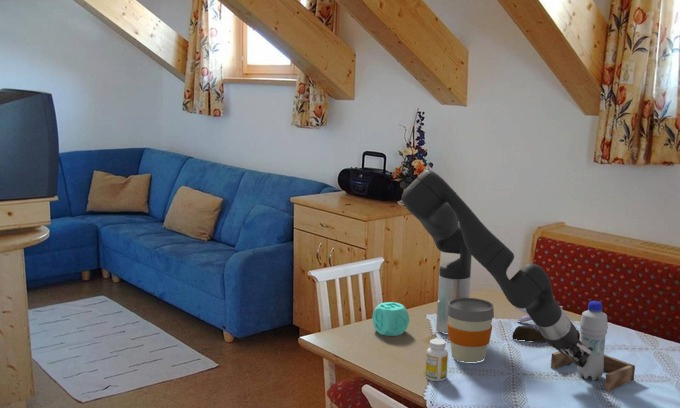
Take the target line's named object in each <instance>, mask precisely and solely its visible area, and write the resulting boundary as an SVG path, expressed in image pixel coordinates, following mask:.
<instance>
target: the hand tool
mask: <svg viewBox="0 0 680 408" xmlns="http://www.w3.org/2000/svg"><path fill="white" fill-rule="evenodd" d="M576 330H577V338H578V339H579V340H580V337H581V332H580V330H578V329H576ZM512 338H513V339H517V340H525V341H533V342H546V339H545V338H544V337H543V335H542V334H541V333H540V331H539V330H538V328H536V327H534V326H530V325H529V326H527V325H518V326H516V327H515V328H514V331H512ZM513 339H512V340H513Z"/></svg>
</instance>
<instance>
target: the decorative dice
mask: <svg viewBox="0 0 680 408" xmlns="http://www.w3.org/2000/svg"><path fill="white" fill-rule="evenodd" d="M371 320H372V324H373V327H374V329H375V330H376V332H377V333H378V334H379V335H382V336H388V337H396V336H400V335H402V334H403V333H405V332H406V330H407V329H408V327H409V323H410V315H409V312H408V310H407V308H406V307H405V305H404V304H401V303H400V302H393V301H389V302H388V301H386V302H382V303H379V304H378V305H377V306H376V307H375V308H374V311H373V312H372V319H371Z"/></svg>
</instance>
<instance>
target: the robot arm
mask: <svg viewBox="0 0 680 408" xmlns="http://www.w3.org/2000/svg"><path fill="white" fill-rule="evenodd" d="M401 201H402V205H404V207H405V208H406V210H407V211H408V212H410V214H411V215H413V216H414V217H415V218H416V219H417V220H418V221H419V223H420V224H421V225H422V226H423V228H424V230H425V231H426V232H427V233H428V234H429V235H430V236H431V238H432V240H433V241H434V242H433V243H434V244H435V247H436V248H437V249H438V251H440V252H441V253H446V254H454V255H455V254H457V255H459V258H457V259H455V260H453V261H448V262H444V263H442V264H441V265H439V271H438V275H439V276H438V296H437V298H438V300H437V302H436V326H435V328H436V329H435V331H441V332H444V333H448V325H447V322H448V321H449V319H448V314H447V308H448V302H449V301H450V300H452V299H457V298H471V296H470V292H471V273H472V272H471V270H472V257H473V258H474V259H475V260H476V261H477V262H478V263H479V264H480V265H481V266H482V267H483V268H485V270H487V272H488V273H489V274H490V275H491V276H492V277H493V279H494V280H495V281H496V283H497V284H498V285H499V287H500V289H501V291H502V293H503V294H504V296H505V298H506V300H507V301H508V302H509V303H510V304H511V305H512V306H513V307H517V308H522V309H524V308H526V311H527V313H528V314H527V315H529V316H530V317H531V319H532V320H531V321H533V322H534V324H535V326H536V329H538V330H539V331H540V333H541V334H542V335H543V337H544V338H545V339H546V341H545V342H546V343H547V344H548V345H549V346H550V347H552V348H554V349H555V350H557V352H558V351H559V352H561V353H562V354H563V355H568V357H569V358H571V359H573V361H574V362H573V363H574V364H575V365H576V366H579V367H582V368H583V367H584V366H585V364H586V362H587V361H586V359H587V358H588V357H589V355H590V354H591V352H592V350H593V348H592V347H584V346H582V342H581V341H580V340H579V339H578V338H577V330H578V329H577V328H576V326H575V325H574V324H573V322H572V320H571V319H570V318H569V316H568V314H567V313H566V312H565V311H564V310H563V308H560V306H561V305H560V304H558V302H557V301H556V299H555V296H554V293H553V289H552V284H551V280H550V277H549V276H548V274H547V272H546V271H545V270H544V268H543V267H542V266H540V265H538V264H536V263H530V262H529V263H526V264H525V265H523V266H522V267H521V268H520V269H519V270H518V271H517V272H516V273H515V274H514V275H513V276H512V277H511V278H509V277H508V275H507V271H508V269H509V268H510V266H511V264H512V263H513V261H514V259H515V254H514V252H513V251H512V250H511V249H510V248H509V247H508V246H506V245H505V243H503V242H502V241H501V239H499V238H498V237H497V236H496V235H495V234H493V233H492V232H491V231H490V230H489V229H488V228H487V226H485V224H484V223H483V222H482V221H481V220H480V219H479V217H478V216H477V215H476V214H475V213H474V211H473V210H472V209H471V208H470V207H469V205H467V203H466V202H465V201H464V200H463V199H462V198H461V197H460V196H459V195H458V194H457V192H456V191H455V190H454V189H453V188H452V187H451V186H450V184H448V183H447V182H446V181H445V180H444V179H443V177H441V176H440V175H439V174H438V173H436V172H435V171H433V170H431V169H425V170H423V171H422V172H421V173H420V174H419V175H418V176H416V178H415V179H414V180H413V181H412V182H411V183H410V184H409V185H408V186H407V187H406V188H405V190H404V191H403V193H402V195H401ZM517 308H516V309H517Z"/></svg>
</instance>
